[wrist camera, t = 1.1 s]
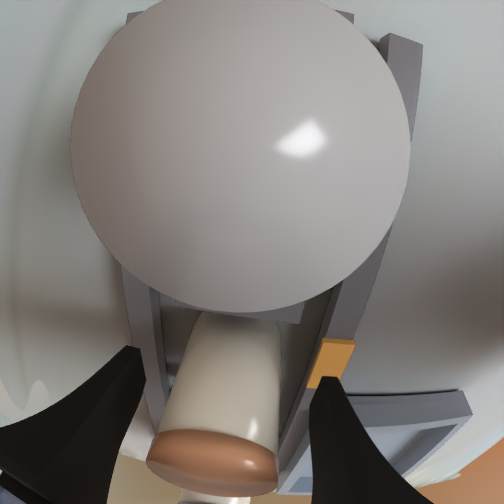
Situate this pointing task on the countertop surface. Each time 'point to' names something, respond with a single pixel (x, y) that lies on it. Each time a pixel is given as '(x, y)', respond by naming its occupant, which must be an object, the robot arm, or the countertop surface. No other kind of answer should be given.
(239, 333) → the cylinder
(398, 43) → the clip rail
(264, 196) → the cream capsule cylinder
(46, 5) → the countertop surface
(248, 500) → the fuse
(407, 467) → the tray
